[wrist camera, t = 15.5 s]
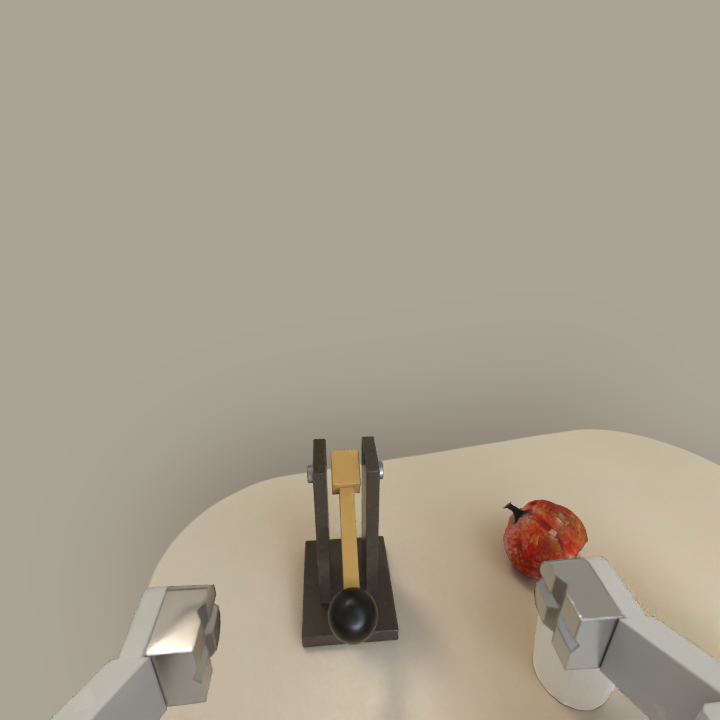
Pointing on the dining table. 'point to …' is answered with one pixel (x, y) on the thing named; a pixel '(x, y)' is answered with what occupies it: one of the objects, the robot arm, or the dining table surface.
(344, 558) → the latch lever
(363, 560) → the grey lever stand
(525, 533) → the pomegranate
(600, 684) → the white cup
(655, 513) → the dining table surface
